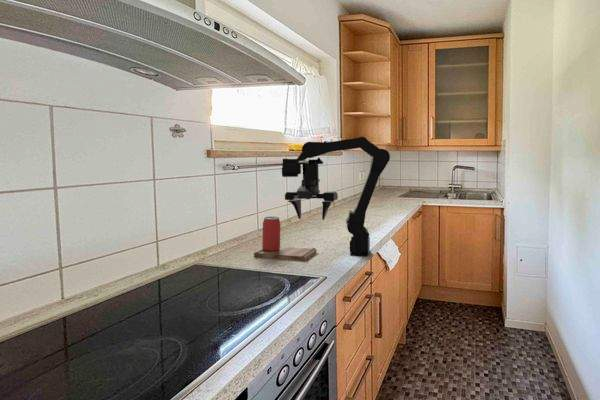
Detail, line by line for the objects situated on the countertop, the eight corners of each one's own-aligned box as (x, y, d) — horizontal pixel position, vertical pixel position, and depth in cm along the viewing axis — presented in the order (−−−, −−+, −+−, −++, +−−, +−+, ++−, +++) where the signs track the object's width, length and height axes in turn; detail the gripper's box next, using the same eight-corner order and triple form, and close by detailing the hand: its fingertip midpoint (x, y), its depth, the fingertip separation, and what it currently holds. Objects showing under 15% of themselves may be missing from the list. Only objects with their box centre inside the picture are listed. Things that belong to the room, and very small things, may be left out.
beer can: (283, 248, 159) (283, 217, 157) (273, 252, 153) (274, 220, 151) (268, 246, 162) (269, 215, 160) (258, 250, 156) (259, 218, 154)
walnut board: (316, 252, 157) (316, 248, 157) (305, 260, 146) (305, 255, 146) (268, 249, 164) (267, 244, 164) (253, 256, 153) (253, 252, 153)
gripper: (278, 178, 148) (279, 221, 150) (328, 178, 142) (329, 224, 143) (290, 176, 159) (291, 217, 160) (337, 176, 152) (338, 218, 154)
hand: (311, 219), depth 154 cm, fingers open, 9 cm apart
